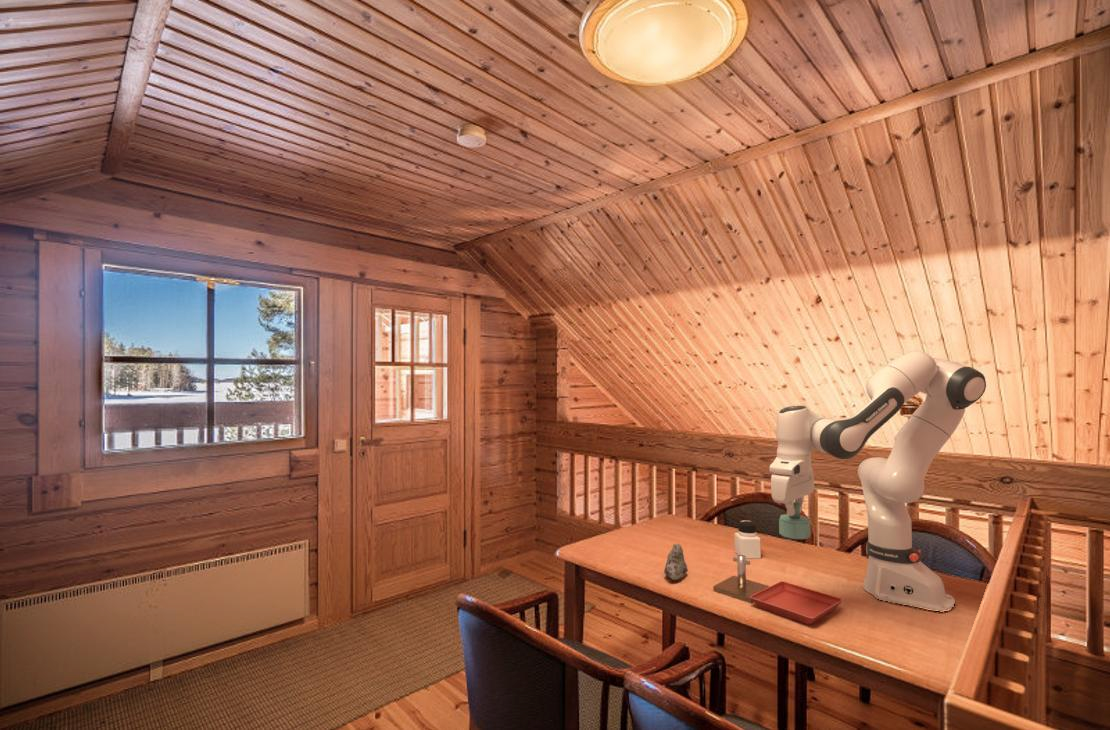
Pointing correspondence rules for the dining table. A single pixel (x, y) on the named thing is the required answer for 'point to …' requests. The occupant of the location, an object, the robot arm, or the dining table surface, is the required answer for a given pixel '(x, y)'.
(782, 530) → the cap
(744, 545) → the medicine bottle
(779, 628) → the dining table surface
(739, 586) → the post
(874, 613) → the dining table surface
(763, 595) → the plant saucer
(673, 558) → the mineral rock
